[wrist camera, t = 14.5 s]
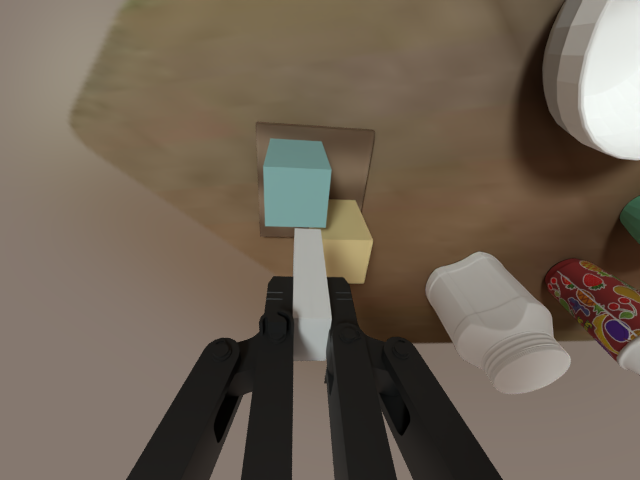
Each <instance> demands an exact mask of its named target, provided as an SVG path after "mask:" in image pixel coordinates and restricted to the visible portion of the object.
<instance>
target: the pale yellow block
mask: <svg viewBox="0 0 640 480" xmlns="http://www.w3.org/2000/svg"><path fill="white" fill-rule="evenodd" d="M309 229H321V236H322V244H323V252H324V260H325V268H326V276H327V277H344V278H345V280H346V281H347V282H348V283H364V280H365V276H366V271H367V267H368V262H369V257H370V253H371V248H372V244H373V239H372V237H371V234H370V232H369V230H368V228H367V225H366V223H365V221H364V219H363V216H362V214H361V212H360V210H359V207H358V205H357V203H356V200H336V199H329V200H328V209H327V219H326V228H318V227H309Z"/></svg>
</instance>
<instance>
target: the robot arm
mask: <svg viewBox="0 0 640 480" xmlns="http://www.w3.org/2000/svg"><path fill="white" fill-rule="evenodd" d="M259 328H260V329H259V330H260V332H259V333H258V334H257V335H255V336H254V337H252V338H250V339H248V340H244V341H241V342H236V341H235V340H233V339H231V338H220V339H217V340H214V341H213V342H211V343H209V344H208V346H207V347H206V348H205V349H204V351H203V352H202V354H201V356H200V357H199V359H198V361H197V362H196V364H195V366H194V367H193V369H192V371H191V372H190V374H189V376H188V378H187V379H186V381H185V382H184V384H183V386H182V387H181V389H180V391H179V392H178V394H177V396H176V398H175V399H174V401H173V402H172V404H171V406H170V407H169V409H168V411H167V412H166V414H165V416H164V418H163V419H162V421H161V423H160V424H159V426H158V428H157V429H156V431H155V433H154V434H153V436H152V437H151V439H150V441H149V442H148V444H147V446H146V448H145V449H144V451H143V452H142V454H141V456H140V458H139V459H138V461H137V463H136V464H135V466H134V468H133V469H132V471H131V473H130V474H129V476H128V478H127V479H126V480H209V479H210V477H211V474H212V472H213V469H214V467H215V464H216V462H217V459H218V457H219V454H220V452H221V449H222V446H223V444H224V442H225V439H226V437H227V434H228V432H229V429H230V427H231V424H232V422H233V419H234V417H235V414H236V412H237V409H238V407H239V404H240V402H241V399H242V397H243V395H244V394H246V393H249V392H252V391H253V392H252V400H251V407H250V415H249V423H248V430H247V438H246V446H245V453H244V460H243V468H242V476H241V480H292V426H293V425H292V423H293V361H325V360H326V359H327V369H326V375H325V382H324V383H327V392H328V404H329V417H330V428H331V441H332V453H333V465H334V477H335V480H397V477H396V473H395V469H394V464H393V460H392V456H391V451H390V447H389V442H388V438H387V433H386V429H385V425H384V420H383V416H382V412H383V414H384V416H385V419H386V421H387V423H388V425H389V427H390V430H391V432H392V434H393V436H394V438H395V441H396V443H397V445H398V447H399V449H400V451H401V453H402V456H403V458H404V460H405V462H406V465H407V467H408V469H409V471H410V473H411V476H412V478H413V480H503V479H502V478H501V476H500V475H499V473H498V472H497V470H496V469H495V467H494V466H493V464H492V463H491V461H490V460H489V458H488V457H487V455H486V453H485V452H484V450H483V449H482V447H481V446H480V444H479V443H478V441H477V440H476V438H475V437H474V435H473V434H472V432H471V431H470V429H469V428H468V426H467V425H466V423H465V422H464V420H463V419H462V417H461V416H460V414H459V413H458V411H457V410H456V408H455V407H454V405H453V404H452V402H451V401H450V399H449V398H448V396H447V394H446V393H445V391H444V390H443V388H442V387H441V385H440V384H439V382H438V381H437V380H436V378H435V376H434V375H433V373H432V372H431V370H430V369H429V367H428V366H427V365H426V363H425V361H424V360H423V358H422V357H421V355H420V354H419V352H418V351H417V349H416V348H415V346H414V345H413V344H412V343H411V342H409V341H408V340H406V339H404V338H401V337H392V338H389V339H387V341H386V342H383V341H380V340H376V339H373V338H371V337H369V336H367V335H366V334H364V333H363V332H362V330H361V329H360V328H359V326H358V323H357V318H356V313H355V309H354V304H353V300H352V295H351V290H350V286H349V283H348V282H347V281H346V280H345V278H344V277H327V276H326V268H325V260H324V252H323V244H322V236H321V229H301V228H295V234H294V260H293V277H281V276H273V278H272V279H271V281H270V282H269V283H268V290H267V297H266V305H265V313H264V315H262V316H261V318H260V321H259ZM381 410H382V411H381Z"/></svg>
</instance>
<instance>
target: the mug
mask: <svg viewBox="0 0 640 480" xmlns="http://www.w3.org/2000/svg"><path fill="white" fill-rule="evenodd" d="M620 221H621V223H622V224H623V225H624V227H625V228H626V229H627V231H628V232H629V233H630V234H631V236H632V237H633V238H634V239H635V240H636V241H637V242H638V243H639V244H640V196H638V197H636V198H635V199H633V200H632V201H630V202H629V203H628V204H627V205H626V206H625V207H624V209H623V210H622V212H621V214H620Z"/></svg>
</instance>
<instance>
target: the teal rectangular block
mask: <svg viewBox="0 0 640 480" xmlns="http://www.w3.org/2000/svg"><path fill="white" fill-rule="evenodd" d="M263 176H264V207H265V226H277V227H318V228H326V219H327V209H328V200H329V190H330V180H331V167H330V164H329V161H328V158H327V155H326V152H325V150H324V147H323V144H322V141H306V140H289V139H271V138H270V142H269V146H268V150H267V154H266V157H265V161H264V165H263Z"/></svg>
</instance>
